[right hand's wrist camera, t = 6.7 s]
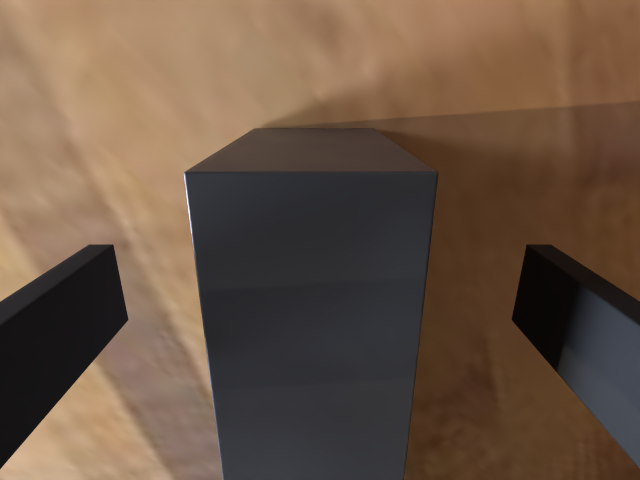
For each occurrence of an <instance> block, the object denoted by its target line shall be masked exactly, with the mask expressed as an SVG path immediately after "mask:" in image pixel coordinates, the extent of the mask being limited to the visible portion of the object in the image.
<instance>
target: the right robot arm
mask: <svg viewBox="0 0 640 480" xmlns="http://www.w3.org/2000/svg"><path fill="white" fill-rule="evenodd" d="M127 321H128V316H127V311H126V306H125V301H124V296H123V291H122V286H121V281H120V276H119V271H118V266H117V261H116V256H115V251H114V246H113V245H88V246H86V247H85V248H83V249H82V250H80V251H79V252H77V253H75V254H74V255H72V256H71V257H69V258H68V259H66V260H64V261H63V262H61V263H60V264H58V265H57V266H55V267H54V268H52V269H50V270H49V271H47V272H46V273H44V274H43V275H41V276H40V277H38V278H36V279H35V280H33V281H32V282H30V283H29V284H27V285H26V286H24V287H22V288H21V289H19V290H18V291H16V292H15V293H13V294H12V295H10V296H8V297H7V298H5V299H4V300H2V301H1V302H0V469H1V468H2V466H3V465H4V464H5V463H6V462H7V461H8V459H9V458H10V457H11V456H12V455H13V454H14V452H15V451H16V450H17V449H18V448H19V447H20V445H21V444H22V443H23V442H24V441H25V440H26V438H27V437H28V436H29V435H30V434H31V433H32V431H33V430H34V429H35V428H36V427H37V426H38V424H39V423H40V422H41V421H42V420H43V419H44V417H45V416H46V415H47V414H48V413H49V412H50V410H51V409H52V408H53V407H54V406H55V405H56V403H57V402H58V401H59V400H60V399H61V398H62V397H63V395H64V394H65V393H66V392H67V391H68V390H69V388H70V387H71V386H72V385H73V384H74V383H75V381H76V380H77V379H78V378H79V377H80V376H81V374H82V373H83V372H84V371H85V370H86V369H87V367H88V366H89V365H90V364H91V363H92V362H93V360H94V359H95V358H96V357H97V356H98V355H99V353H100V352H101V351H102V350H103V349H104V348H105V346H106V345H107V344H108V343H109V342H110V341H111V339H112V338H113V337H114V336H115V335H116V334H117V332H118V331H119V330H120V329H121V328H122V327H123V325H124V324H125V323H126V322H127ZM512 321H513V322H514V323H515V324H516V325H517V327H518V328H519V329H520V330H521V331H522V332H523V334H524V335H525V336H526V337H527V338H528V339H529V341H530V342H531V343H532V344H533V345H534V346H535V348H536V349H537V350H538V351H539V352H540V353H541V355H542V356H543V357H544V358H545V359H546V360H547V362H548V363H549V364H550V365H551V366H552V367H553V369H554V370H555V371H556V372H557V373H558V374H559V376H560V377H561V378H562V379H563V380H564V381H565V383H566V384H567V385H568V386H569V387H570V388H571V390H572V391H573V392H574V393H575V394H576V395H577V397H578V398H579V399H580V400H581V401H582V402H583V404H584V405H585V406H586V407H587V408H588V409H589V410H590V412H591V413H592V414H593V415H594V416H595V417H596V419H597V420H598V421H599V422H600V423H601V424H602V426H603V427H604V428H605V429H606V430H607V431H608V433H609V434H610V435H611V436H612V437H613V438H614V440H615V441H616V442H617V443H618V444H619V445H620V447H621V448H622V449H623V450H624V451H625V452H626V454H627V455H628V456H629V457H630V458H631V459H632V461H633V462H634V463H635V464H636V465H637V466H638V468H639V469H640V302H639V301H638V300H636V299H635V298H633V297H632V296H630V295H628V294H627V293H625V292H624V291H622V290H621V289H619V288H618V287H616V286H614V285H613V284H611V283H610V282H608V281H607V280H605V279H604V278H602V277H600V276H599V275H597V274H596V273H594V272H593V271H591V270H590V269H588V268H586V267H585V266H583V265H582V264H580V263H579V262H577V261H576V260H574V259H572V258H571V257H569V256H568V255H566V254H565V253H563V252H561V251H560V250H558V249H557V248H555V247H554V246H552V245H527V246H526V251H525V256H524V261H523V266H522V271H521V276H520V281H519V286H518V291H517V296H516V301H515V306H514V311H513V316H512Z"/></svg>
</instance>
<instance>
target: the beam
mask: <svg viewBox="0 0 640 480" xmlns="http://www.w3.org/2000/svg"><path fill="white" fill-rule="evenodd" d="M184 180H185V188H186V196H187V204H188V212H189V219H190V227H191V235H192V243H193V250H194V258H195V266H196V274H197V281H198V289H199V297H200V305H201V313H202V320H203V328H204V336H205V344H206V351H207V359H208V367H209V375H210V382H211V390H212V398H213V406H214V414H215V421H216V429H217V437H218V445H219V452H220V460H221V468H222V476H223V480H404V474H405V465H406V456H407V447H408V438H409V429H410V420H411V411H412V402H413V394H414V385H415V376H416V367H417V358H418V349H419V340H420V331H421V322H422V314H423V305H424V296H425V287H426V278H427V269H428V260H429V251H430V242H431V234H432V225H433V216H434V207H435V198H436V189H437V180H438V172H437V171H435V170H434V169H432V168H431V167H430V166H428V165H427V164H425V163H424V162H422V161H421V160H419V159H418V158H416V157H415V156H413V155H412V154H411V153H409V152H408V151H406V150H405V149H403V148H402V147H400V146H399V145H397V144H396V143H394V142H393V141H392V140H390V139H389V138H387V137H386V136H384V135H383V134H381V133H380V132H378V131H377V130H375V129H374V128H255V129H253V130H251V131H250V132H248V133H246V134H245V135H243V136H242V137H240V138H238V139H237V140H235V141H234V142H232V143H230V144H229V145H227V146H226V147H224V148H222V149H221V150H219V151H218V152H216V153H214V154H213V155H211V156H210V157H208V158H206V159H205V160H203V161H202V162H200V163H198V164H197V165H195V166H194V167H192V168H190V169H189V170H187V171H186V172H184Z"/></svg>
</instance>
